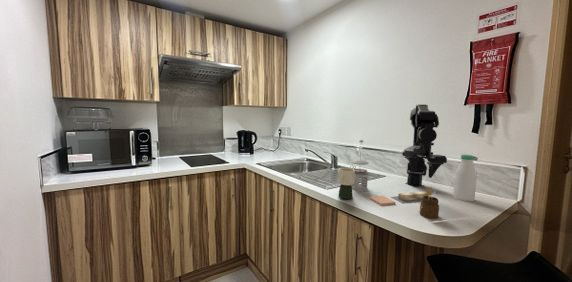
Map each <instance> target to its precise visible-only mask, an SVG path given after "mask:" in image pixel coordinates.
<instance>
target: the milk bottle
mask: <svg viewBox="0 0 572 282" xmlns="http://www.w3.org/2000/svg"><path fill="white" fill-rule="evenodd" d="M460 160H461V162H460V163H459V165H458V167H457V168H456V170H455V174H454V181H453V192H452V197H453V198H454V199H456V200H459V201H465V202H470V203H471V202H474V201H475V198H476V188H477V180H478V179H477V178H478V176H477V171H476V168H475V166H474V161H475V156H474V155H470V154H461V156H460Z"/></svg>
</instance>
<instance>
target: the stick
mask: <svg viewBox="0 0 572 282" xmlns="http://www.w3.org/2000/svg"><path fill="white" fill-rule="evenodd" d="M423 196H428V195H427V194H426V191H415V192H413V191H412V192H402V193H401V192H400V193H398V199H400V200H402V201H404V200H416V199H422V197H423Z"/></svg>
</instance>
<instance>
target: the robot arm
mask: <svg viewBox="0 0 572 282" xmlns="http://www.w3.org/2000/svg"><path fill="white" fill-rule="evenodd" d="M409 121H410V124H411V126H412V127H413V141H412V143H413V144H412V146H408V147H406V148H404V149H403V151H402V157H404V158H405V159H406V160H407V161H408V162H407V164H406V171H405V172H406V174H407V179H406V182H405V185H408V186H411V187H414V188H415V187H416V188H418V187H425V185H424V184H423V176H427V170H428V178H429V179H432V177H433V176H434V175H435V174H436V171H438V169H439V168H440V167H441V166H442V165H444V164H447V161H448V159H447V156H446V155H442V154H434V152H432V146H435V142H434V141H435V140H436V139H437V137H438V135H437V132H436V130H435V129H434V128H438V127H439V125H440V121H439V116H438V114H437V113H436V111H434V110H430V109H429V107H428V104H416V105H415V107H414V108H413V109H412V110H410V113H409ZM425 159H426V160H427V161H425ZM427 165H428V166H427Z"/></svg>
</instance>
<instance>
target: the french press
mask: <svg viewBox="0 0 572 282" xmlns="http://www.w3.org/2000/svg"><path fill="white" fill-rule="evenodd" d="M359 143H360V144H362V143H364V140H363V139H359ZM359 157H360V158H357V159H354V160H352V161H351V163H352V164H353V165H351V166H350V167H349V168H351V169H354V170H355V182H354V185H351V186H352V191H356V192H357V191H358V192H367V191H369V188H368V182H369V181H368V180H369V179H368V178H369V173H368V170H367V169H365V168H356V166H357V165H359V166H365V165H366V166H367V165H369V162H368V161H367V160H366V159H362V152H360V155H359ZM354 165H355V166H354Z"/></svg>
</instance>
